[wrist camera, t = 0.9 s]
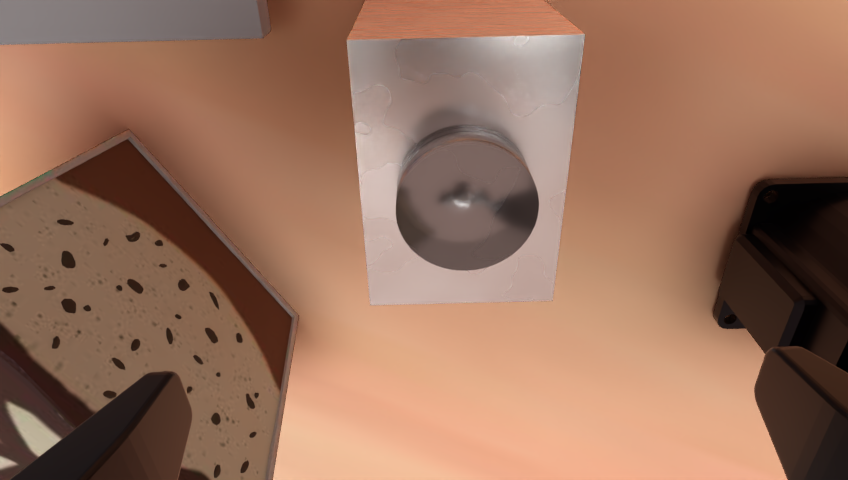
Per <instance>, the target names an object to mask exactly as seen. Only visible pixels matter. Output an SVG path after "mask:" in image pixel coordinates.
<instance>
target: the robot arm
mask: <svg viewBox="0 0 848 480" xmlns="http://www.w3.org/2000/svg"><path fill="white" fill-rule="evenodd" d="M769 191H773V192H772V193H771V195H770V196H768V197H767V198H764V196H765V195H766V193H768V192H769ZM730 314H731V315H730ZM728 315H730V316H728ZM726 316H728V317H726ZM713 317H714V319H715V321H716V322H717V324H718V325H719V326H720V327H722V328H725V329H739V328H746V329H747V330H748V332H749V333H750V334H751V336H752V337H753V338H754V339H755V341H756V342H757V343H758V345H759V346H760V347H761V349H762V350H763V351H764V353H765V354H766V355H765V358H764V360H763V363H762V366H761V369H760V372H759V375H758V378H757V381H756V384H755V391H754V392H755V399H756V402H757V405H758V408H759V410H760V413H761V415H762V417H763V420H764V422H765V425H766V427H767V430H768V432H769V435H770V437H771V440H772V442H773V445H774V447H775V450H776V452H777V454H778V457H779V459H780V462H781V464H782V467H783V469H784V472H785V474H786V477H787V479H788V480H848V177H838V178H797V179H768V180H763V181H761V182H759V183H758V184H757V185H756V186H755V187H754V188H753V190H752V192H751V195H750V198H749V201H748V204H747V207H746V211H745V214H744V217H743V220H742V223H741V227H740V230H739V233H738V236H737V237H736V238H735V240H734V242H733V245H732V248H731V252H730V255H729V258H728V261H727V265H726V268H725V271H724V274H723V277H722V281H721V284H720V287H719V297H718V300H717V303H716V307H715V310H714V313H713ZM725 317H726V318H725ZM191 423H192V409H191V405H190V403H189V400H188V397H187V395H186V392H185V389H184V387H183V384H182V381H181V379H180V377H179V375H178V374H177V373H176V372H173V371H162V372H150V373H147V374H146V375H144V376H143V377H141V378H140V379H139V380H137V381H136V382H135V383H134V384H132V385H131V386H130V387H128V388H127V389H126V390H124V391H123V392H122V393H121V394H119V395H118V396H117V397H115V398H114V399H113V400H112V401H110V402H109V403H108V404H106V405H105V406H104V407H103V408H101V409H100V410H99V411H97V412H96V413H95V414H93V415H92V416H91V417H90V418H88V419H87V420H86V421H84V422H83V423H82V424H81V425H79V426H78V427H77V428H75V429H74V430H73V431H72V432H70V433H69V434H68V435H66V436H65V437H64V438H63V439H61V440H60V441H59V442H57V443H56V444H55V445H53V446H52V447H51V448H50V449H48V450H47V451H46V452H44V453H43V454H42V455H41V456H39V457H38V458H37V459H35V460H34V461H33V462H32V463H30V464H29V465H28V466H26V467H25V468H24V469H22V470H21V471H20V472H19V473H17V474H16V475H15V476H13V477H12V478H11V479H10V480H178V477H179V473H180V469H181V464H182V460H183V456H184V452H185V448H186V444H187V440H188V436H189V432H190V428H191Z"/></svg>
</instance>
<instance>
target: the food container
mask: <svg viewBox="0 0 848 480" xmlns="http://www.w3.org/2000/svg"><path fill="white" fill-rule="evenodd" d="M298 319H299V316H298V314H297V313H296V312H295V311H294V310H293V309H292V308H291V307H290V306H289V305H288V303H287V302H286V301H285V300H284V299H283V298H282V297H281V296H280V295H279V294H278V292H277V291H276V290H275V289H274V288H273V287H272V286H271V285H270V284H269V283H268V281H267V280H266V279H265V278H264V277H263V276H262V275H261V274H260V273H259V272H258V270H257V269H256V268H255V267H254V266H253V265H252V264H251V263H250V262H249V261H248V259H247V258H246V257H245V256H244V255H243V254H242V253H241V252H240V251H239V250H238V249H237V247H236V246H235V245H234V244H233V243H232V242H231V241H230V240H229V239H228V238H227V236H226V235H225V234H224V233H223V232H222V231H221V230H220V229H219V228H218V227H217V225H216V224H215V223H214V222H213V221H212V220H211V219H210V218H209V217H208V216H207V214H206V213H205V212H204V211H203V210H202V209H201V208H200V207H199V206H198V205H197V203H196V202H195V201H194V200H193V199H192V198H191V197H190V196H189V195H188V194H187V192H186V191H185V190H184V189H183V188H182V187H181V186H180V185H179V184H178V183H177V181H176V180H175V179H174V178H173V177H172V176H171V175H170V174H169V173H168V172H167V170H166V169H165V168H164V167H163V166H162V165H161V164H160V163H159V162H158V161H157V159H156V158H155V157H154V156H153V155H152V154H151V153H150V152H149V151H148V150H147V148H146V147H145V146H144V145H143V144H142V143H141V142H140V141H139V140H138V139H137V138H136V136H135V135H134V134H133V133H132V132H131V131H130V130H129V129H128V130H126V131H124V132H122V133H121V134H119V135H117V136H115V137H113V138H111V139H109V140H107V141H105V142H103V143H101V144H100V145H98V146H96V147H94V148H92V149H90V150H88V151H86V152H84V153H82V154H80V155H79V156H77V157H75V158H73V159H71V160H69V161H67V162H65V163H63V164H61V165H60V166H58V167H56V168H54V169H52V170H50V171H48V172H46V173H44V174H42V175H40V176H39V177H37V178H35V179H33V180H31V181H29V182H27V183H25V184H23V185H21V186H19V187H18V188H16V189H14V190H12V191H10V192H8V193H6V194H4V195H2V196H0V480H10V479H11V478H12V477H13V476H15V475H16V474H17V473H19V472H20V471H21V470H22V469H24V468H25V467H26V466H28V465H29V464H30V463H32V462H33V461H34V460H35V459H37V458H38V457H39V456H41V455H42V454H43V453H44V452H46V451H47V450H48V449H50V448H51V447H52V446H53V445H55V444H56V443H57V442H59V441H60V440H61V439H63V438H64V437H65V436H66V435H68V434H69V433H70V432H72V431H73V430H74V429H75V428H77V427H78V426H79V425H81V424H82V423H83V422H84V421H86V420H87V419H88V418H90V417H91V416H92V415H93V414H95V413H96V412H97V411H99V410H100V409H101V408H103V407H104V406H105V405H106V404H108V403H109V402H110V401H112V400H113V399H114V398H115V397H117V396H118V395H119V394H121V393H122V392H123V391H124V390H126V389H127V388H128V387H130V386H131V385H132V384H134V383H135V382H136V381H137V380H139V379H140V378H141V377H143V376H144V375H146V374H147V373H150V372H162V371H173V372H176V373H177V374H178V375H179V377H180V379H181V381H182V384H183V387H184V389H185V392H186V395H187V397H188V400H189V403H190V405H191V409H192V423H191V428H190V432H189V436H188V440H187V444H186V448H185V452H184V456H183V460H182V464H181V469H180V473H179V477H178V480H273V474H274V468H275V462H276V456H277V449H278V443H279V437H280V431H281V425H282V418H283V412H284V406H285V400H286V393H287V387H288V381H289V375H290V368H291V362H292V356H293V350H294V343H295V337H296V331H297V325H298Z"/></svg>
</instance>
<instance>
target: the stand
mask: <svg viewBox="0 0 848 480" xmlns="http://www.w3.org/2000/svg"><path fill="white" fill-rule="evenodd" d="M270 31H271V25H270V18H269V12H268V5H267V0H0V45H9V44H49V43H90V42H131V41H172V40H212V39H253V38H264V37H265V36H266V35H267V34H268V33H269V32H270Z"/></svg>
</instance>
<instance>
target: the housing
mask: <svg viewBox="0 0 848 480" xmlns="http://www.w3.org/2000/svg"><path fill="white" fill-rule="evenodd" d="M584 40H585V34H584V33H583V32H582V31H581V30H579V29H578V28H577V27H576V26H574V25H573V24H572V23H571V22H570V21H568V20H567V19H566V18H565V17H563V16H562V15H561V14H560V13H559V12H557V11H556V10H555V9H554V8H553V7H551V6H550V5H549V4H548V3H546V2H545V1H544V0H365V2H364V5H363V7H362V9H361V11H360V13H359V15H358V17H357V19H356V21H355V24H354V26H353V28H352V30H351V32H350V34H349V36H348V38H347V51H348V62H349V73H350V84H351V96H352V107H353V118H354V129H355V141H356V152H357V163H358V174H359V185H360V197H361V208H362V219H363V230H364V242H365V253H366V264H367V275H368V287H369V298H370V305H402V304H443V303H484V302H524V301H553V294H554V285H555V277H556V269H557V261H558V253H559V245H560V236H561V228H562V220H563V212H564V204H565V195H566V187H567V179H568V171H569V163H570V155H571V146H572V138H573V130H574V122H575V114H576V106H577V97H578V89H579V81H580V73H581V65H582V56H583V48H584Z"/></svg>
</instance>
